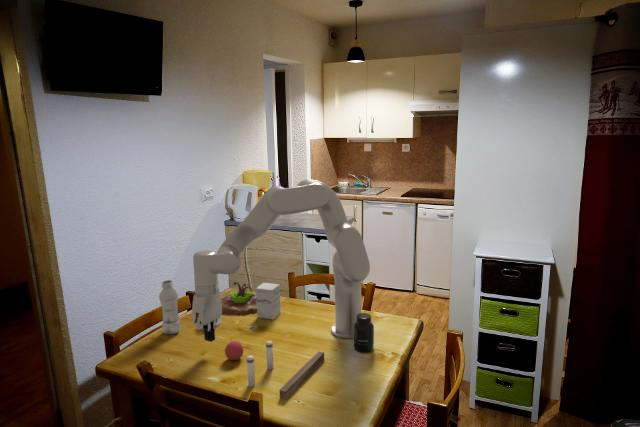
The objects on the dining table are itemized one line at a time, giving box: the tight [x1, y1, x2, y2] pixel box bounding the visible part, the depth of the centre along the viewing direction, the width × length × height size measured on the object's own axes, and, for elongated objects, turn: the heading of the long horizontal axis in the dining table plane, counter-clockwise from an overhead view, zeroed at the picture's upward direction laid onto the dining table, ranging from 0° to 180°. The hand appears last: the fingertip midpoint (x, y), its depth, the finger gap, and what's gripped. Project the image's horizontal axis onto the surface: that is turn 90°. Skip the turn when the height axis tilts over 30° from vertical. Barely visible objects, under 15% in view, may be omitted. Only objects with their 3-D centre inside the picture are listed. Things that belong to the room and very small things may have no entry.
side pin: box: [246, 354, 256, 388], centre depth 130 cm, size 2×2×9 cm
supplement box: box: [255, 282, 281, 321], centre depth 179 cm, size 7×7×13 cm
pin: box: [265, 340, 275, 371], centre depth 139 cm, size 2×2×9 cm
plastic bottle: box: [158, 279, 182, 335], centre depth 165 cm, size 6×7×20 cm
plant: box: [221, 281, 257, 316], centre depth 190 cm, size 20×20×11 cm
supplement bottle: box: [353, 312, 375, 354], centre depth 150 cm, size 7×7×12 cm
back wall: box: [278, 350, 325, 400], centre depth 134 cm, size 2×24×2 cm, turn 153°
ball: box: [224, 340, 245, 361], centre depth 146 cm, size 6×6×6 cm
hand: (209, 340), depth 150 cm, fingers closed
